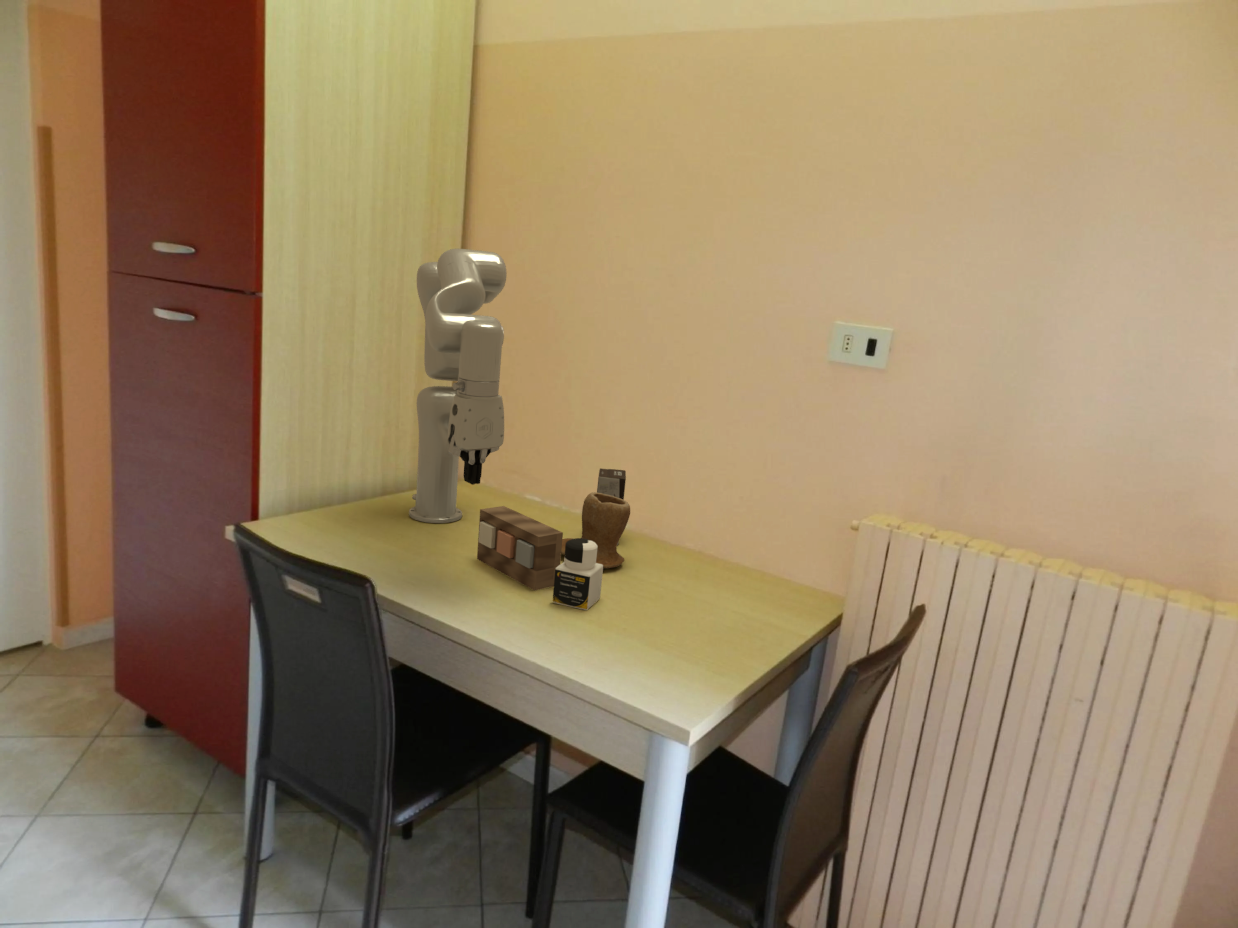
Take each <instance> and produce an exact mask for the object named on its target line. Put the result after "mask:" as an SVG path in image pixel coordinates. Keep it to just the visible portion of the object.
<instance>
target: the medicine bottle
mask: <svg viewBox="0 0 1238 928" xmlns="http://www.w3.org/2000/svg"><path fill="white" fill-rule="evenodd" d="M597 547H598V546H597V544H596V543H595V542H593V541H591V540H588V539H584V538H581V537H580V538H579V537H577V538H573V539H571V540H569V541H567V542H566V545H565V555H564V559H563V560H564V561H563V562H561V563H560V565H559V566H558V567H556V568H555V579H554V586H553V590H552V591H553V592H552V603H554V604H558V605H562V606H565V607H569V608H573V609H578V610H582V611H588V609H589V608H591V607H592V606H593V605H594V604H595V603H597V602H598V601H599V600H600V599H601V593H602V585H603V584H602V581H603V571H604V568H603V565H602V564H598V563H596V558H597Z"/></svg>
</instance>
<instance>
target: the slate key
mask: <svg viewBox="0 0 1238 928" xmlns="http://www.w3.org/2000/svg"><path fill="white" fill-rule="evenodd" d="M534 551H535V545H533V544H531V543H529V542H527V541H525V540H523V539H521V540H517V546H516V560H515V561H516V562H518V563H520V564H521V565H523V566H525V567H527V568H533V564H534Z"/></svg>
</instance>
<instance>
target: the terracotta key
mask: <svg viewBox="0 0 1238 928" xmlns="http://www.w3.org/2000/svg"><path fill="white" fill-rule="evenodd" d="M514 543H515V535H513V534H511V533H508V532H506V531H504V530H500V531H498V536H497V551H496V552H498V553H500V554H502V555H504V556H506V557H508V558H513V557H514Z"/></svg>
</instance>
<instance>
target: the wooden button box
mask: <svg viewBox="0 0 1238 928" xmlns="http://www.w3.org/2000/svg"><path fill="white" fill-rule="evenodd" d="M478 521H479V522H478V524H479V525H478V528H479V527H480V522H483V521H486V522H488V523H490V524H492V525H494V526H496V537H495V548H489V547H487V546H485V545H483V544H481V543H479V534H477V535H478V538H477V555H476V559H477V560H478V561H479V562H481V563H483V564H485V565H487V566H488V567H490V568H492V569H494V570H496V571H498V572H499V573H501V574H503V575H505V576H507V577H509V578H510V579H512V580H513V581H516V582H518V583H520V584H522V585H524V586H525V587H527V588H529V589H530V590H532V591H539V590H543V589H547V588H552V587H553V588H554V579H555V568H556V567H558V566H559V565H560V564H561V563H562V562H561V559H562V554H561V550H562V539H564V537H563V536H564V532H562V531H561V530H558V529H556V528H554V527H551V526H549V525H547V524H544V523H542V522H541V521H538V520H536V519H534V518H531V517H530V516H527V515H525V514H523V513H520V512H518V511H516V510H514V509H511V508H509V507H508V506H505V505H501V506H493V507H487V508H480V509H479V520H478ZM500 530H504V531H506V532H508V533H511V534H513V535H515V543H514V557H513V558H508V557H506V556H504V555H502V554H500V553H498V552H496V551H497V536H498V531H500ZM521 539H523V540H525V541H527V542H529V543H531V544H533V545H535V551H534V564H533V568H527V567H525V566H523V565H521V564H520V563H518V562H516V561H515V560H516V546H517V540H521Z"/></svg>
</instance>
